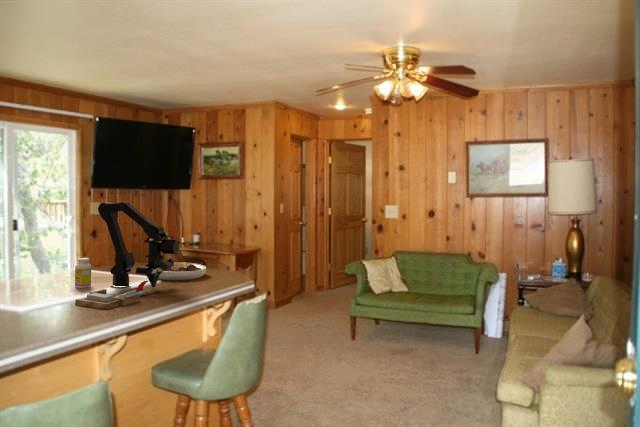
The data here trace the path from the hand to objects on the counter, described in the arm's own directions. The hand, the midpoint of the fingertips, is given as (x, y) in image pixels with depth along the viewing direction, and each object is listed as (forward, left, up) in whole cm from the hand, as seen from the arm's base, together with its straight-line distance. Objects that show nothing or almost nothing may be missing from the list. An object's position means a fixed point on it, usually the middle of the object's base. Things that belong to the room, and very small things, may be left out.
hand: (153, 287), depth 234 cm
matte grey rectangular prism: (0, -34, -1) cm, 34 cm away
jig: (0, -30, -1) cm, 30 cm away
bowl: (-11, +34, -2) cm, 36 cm away
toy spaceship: (+1, -16, -2) cm, 16 cm away
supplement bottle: (-29, -12, -1) cm, 31 cm away
